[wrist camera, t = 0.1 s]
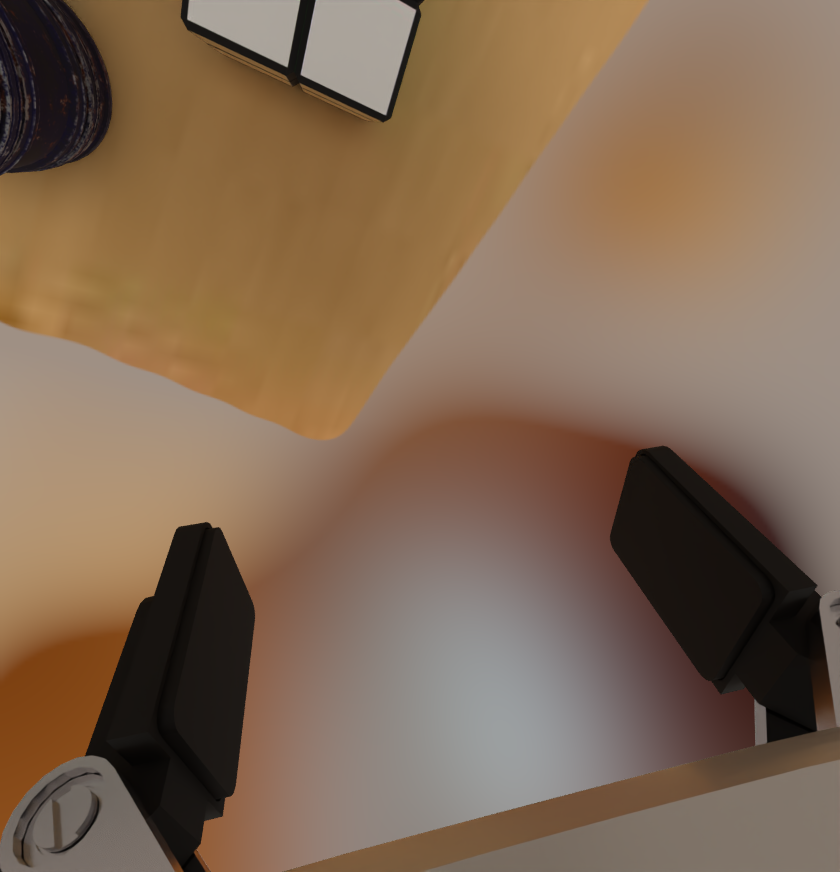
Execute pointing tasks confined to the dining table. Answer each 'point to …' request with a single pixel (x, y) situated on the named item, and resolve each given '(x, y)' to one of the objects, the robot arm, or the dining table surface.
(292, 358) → the dining table surface
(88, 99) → the storage jar
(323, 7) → the puzzle cube
